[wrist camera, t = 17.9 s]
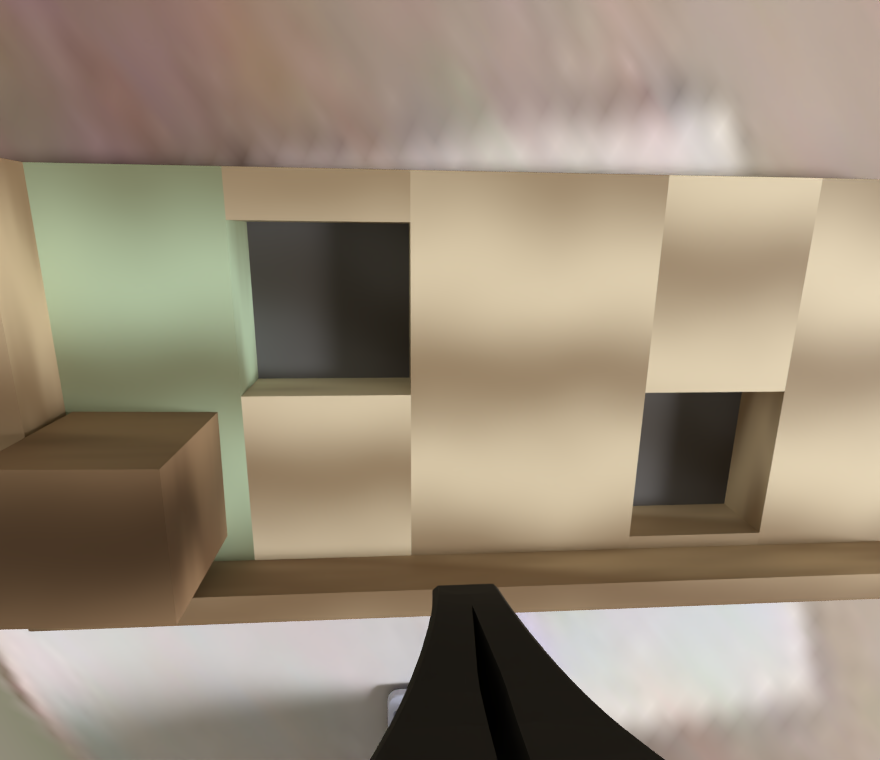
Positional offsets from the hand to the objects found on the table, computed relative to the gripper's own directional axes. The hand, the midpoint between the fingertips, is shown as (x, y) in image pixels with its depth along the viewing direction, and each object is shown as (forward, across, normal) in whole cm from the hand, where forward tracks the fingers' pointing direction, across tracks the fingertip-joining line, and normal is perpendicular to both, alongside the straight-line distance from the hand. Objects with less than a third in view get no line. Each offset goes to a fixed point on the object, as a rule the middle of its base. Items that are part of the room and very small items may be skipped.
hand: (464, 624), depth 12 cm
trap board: (+10, -2, -3) cm, 11 cm away
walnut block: (+7, +10, 0) cm, 12 cm away
